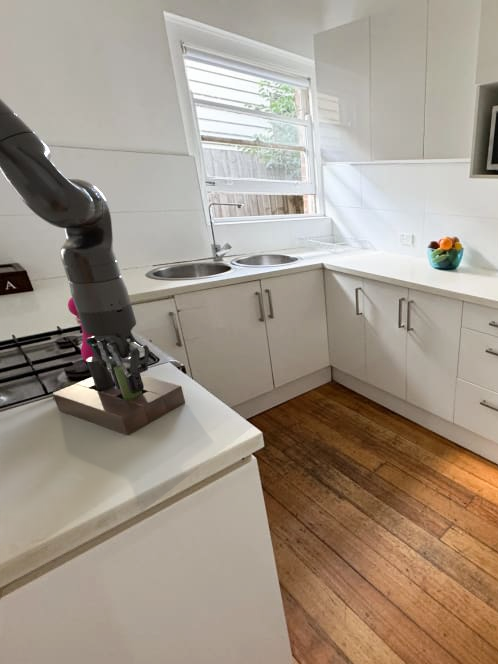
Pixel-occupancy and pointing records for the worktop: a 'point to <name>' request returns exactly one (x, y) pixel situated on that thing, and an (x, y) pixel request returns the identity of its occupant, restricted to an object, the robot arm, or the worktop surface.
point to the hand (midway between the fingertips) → (130, 388)
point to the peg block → (119, 404)
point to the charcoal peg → (100, 375)
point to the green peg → (125, 384)
